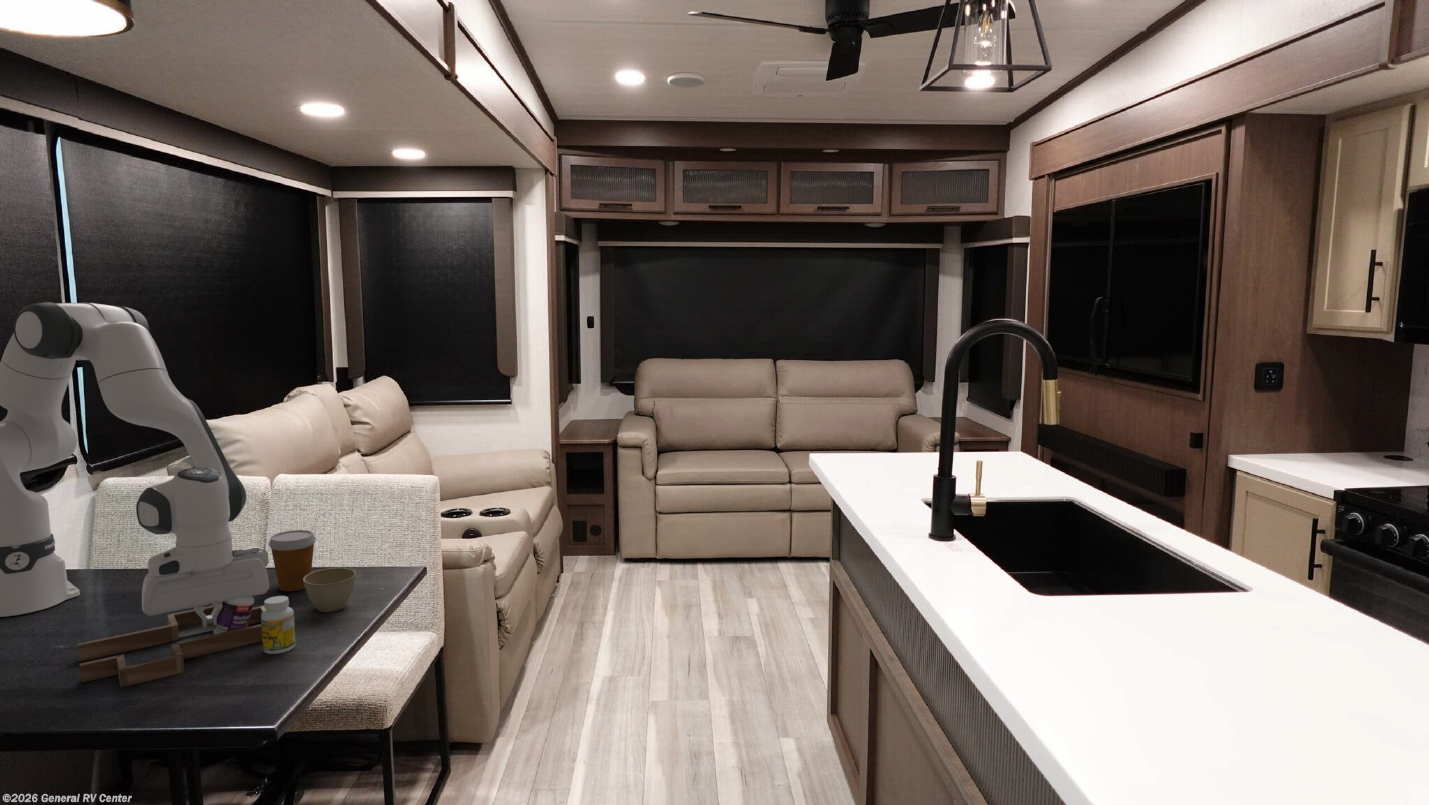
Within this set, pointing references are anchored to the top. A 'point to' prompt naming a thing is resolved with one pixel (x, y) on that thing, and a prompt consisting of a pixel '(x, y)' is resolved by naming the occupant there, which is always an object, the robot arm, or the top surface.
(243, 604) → the pill bottle
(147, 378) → the robot arm
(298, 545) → the disposable coffee cup
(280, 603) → the supplement bottle
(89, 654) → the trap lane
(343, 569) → the flower pot
